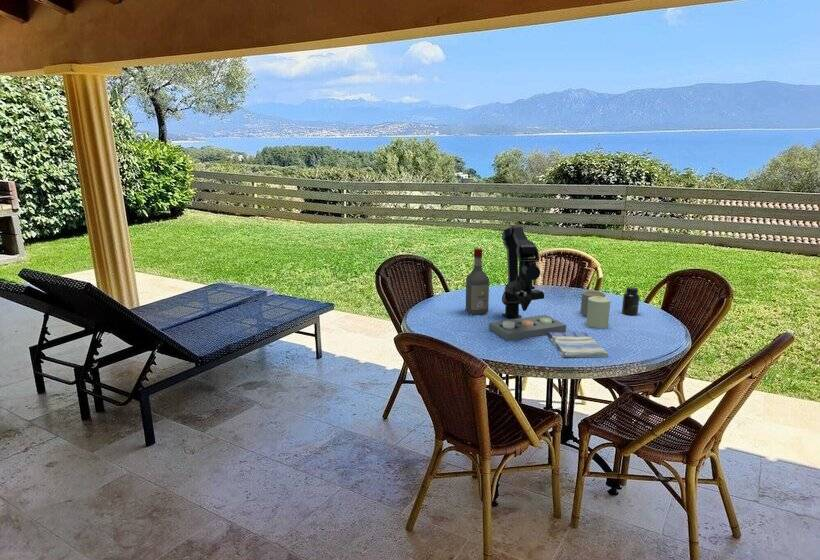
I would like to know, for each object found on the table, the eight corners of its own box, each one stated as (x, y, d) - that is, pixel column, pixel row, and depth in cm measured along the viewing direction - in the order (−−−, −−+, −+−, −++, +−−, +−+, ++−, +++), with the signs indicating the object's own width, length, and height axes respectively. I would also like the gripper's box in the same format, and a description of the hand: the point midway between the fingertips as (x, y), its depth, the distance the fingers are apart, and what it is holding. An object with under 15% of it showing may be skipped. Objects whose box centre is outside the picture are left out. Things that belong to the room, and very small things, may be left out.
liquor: (490, 314, 244) (492, 250, 236) (472, 316, 241) (474, 252, 233) (480, 308, 252) (482, 246, 245) (463, 310, 249) (464, 248, 241)
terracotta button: (518, 327, 223) (519, 321, 222) (528, 326, 225) (529, 319, 224) (525, 331, 219) (525, 324, 218) (535, 330, 220) (535, 323, 219)
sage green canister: (607, 322, 231) (609, 295, 228) (609, 329, 223) (611, 301, 220) (585, 320, 234) (587, 294, 231) (586, 327, 225) (588, 300, 222)
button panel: (488, 329, 224) (489, 322, 223) (545, 321, 233) (545, 314, 233) (507, 341, 210) (507, 334, 210) (565, 331, 220) (566, 325, 219)
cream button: (500, 328, 220) (500, 321, 219) (510, 326, 221) (510, 319, 221) (506, 332, 215) (506, 325, 214) (517, 330, 217) (517, 323, 216)
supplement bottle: (635, 316, 238) (637, 291, 235) (619, 313, 242) (622, 288, 239) (639, 312, 243) (642, 287, 240) (624, 310, 247) (626, 285, 244)
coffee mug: (606, 317, 237) (607, 296, 234) (583, 317, 237) (585, 296, 235) (598, 308, 250) (599, 288, 247) (576, 308, 250) (578, 288, 248)
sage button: (536, 325, 226) (537, 318, 225) (546, 323, 228) (547, 317, 227) (543, 328, 222) (544, 322, 221) (553, 327, 223) (554, 320, 222)
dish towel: (562, 359, 193) (563, 352, 192) (545, 336, 216) (546, 330, 215) (609, 359, 193) (610, 351, 193) (588, 336, 216) (588, 329, 215)
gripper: (496, 271, 220) (495, 307, 224) (522, 281, 203) (520, 319, 207) (519, 268, 224) (517, 303, 228) (546, 278, 208) (544, 316, 211)
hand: (524, 310), depth 219 cm, fingers closed
